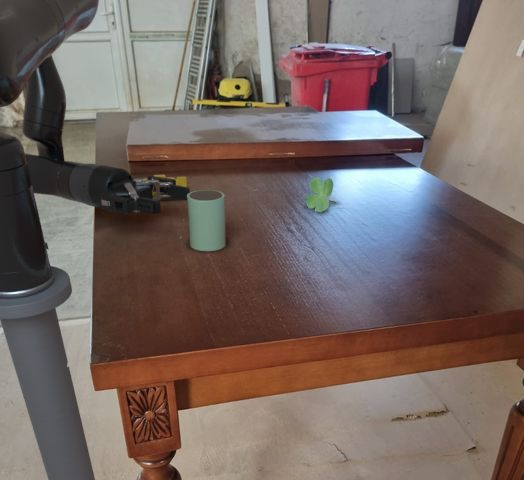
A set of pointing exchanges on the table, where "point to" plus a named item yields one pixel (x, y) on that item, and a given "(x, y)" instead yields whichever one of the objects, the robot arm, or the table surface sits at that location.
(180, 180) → the yellow toy submarine
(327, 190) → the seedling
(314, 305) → the table surface
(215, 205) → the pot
